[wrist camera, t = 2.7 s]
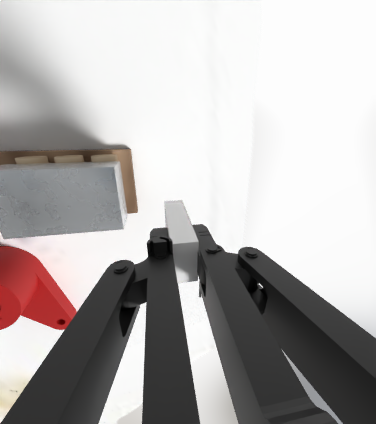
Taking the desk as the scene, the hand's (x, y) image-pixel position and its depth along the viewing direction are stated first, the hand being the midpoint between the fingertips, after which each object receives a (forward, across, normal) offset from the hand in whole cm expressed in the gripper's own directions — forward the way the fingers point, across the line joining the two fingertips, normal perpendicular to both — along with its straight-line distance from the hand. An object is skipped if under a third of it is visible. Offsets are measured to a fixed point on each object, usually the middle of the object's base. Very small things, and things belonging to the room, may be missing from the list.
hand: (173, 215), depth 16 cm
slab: (+9, -11, 0) cm, 15 cm away
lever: (+13, -23, -17) cm, 31 cm away
